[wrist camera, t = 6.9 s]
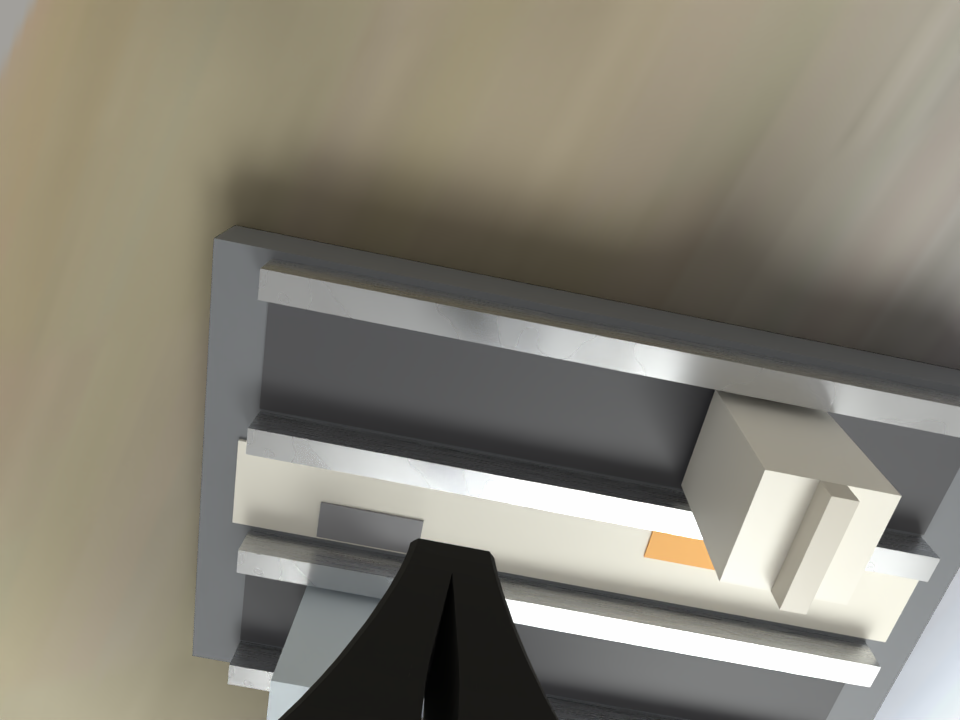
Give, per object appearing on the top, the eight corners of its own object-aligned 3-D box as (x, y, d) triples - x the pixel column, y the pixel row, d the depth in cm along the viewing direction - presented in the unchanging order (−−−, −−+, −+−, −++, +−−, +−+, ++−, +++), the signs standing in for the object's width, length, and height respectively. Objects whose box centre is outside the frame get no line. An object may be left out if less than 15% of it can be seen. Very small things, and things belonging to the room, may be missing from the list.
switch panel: (826, 732, 26) (857, 798, 23) (210, 622, 25) (179, 680, 23) (1014, 381, 20) (1079, 423, 18) (234, 225, 19) (198, 248, 17)
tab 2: (785, 504, 20) (858, 624, 16) (681, 484, 20) (726, 599, 16) (826, 410, 19) (916, 512, 15) (715, 389, 19) (774, 485, 15)
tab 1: (394, 666, 23) (369, 803, 19) (301, 649, 23) (254, 784, 19) (409, 592, 22) (385, 721, 18) (311, 574, 22) (263, 700, 18)
